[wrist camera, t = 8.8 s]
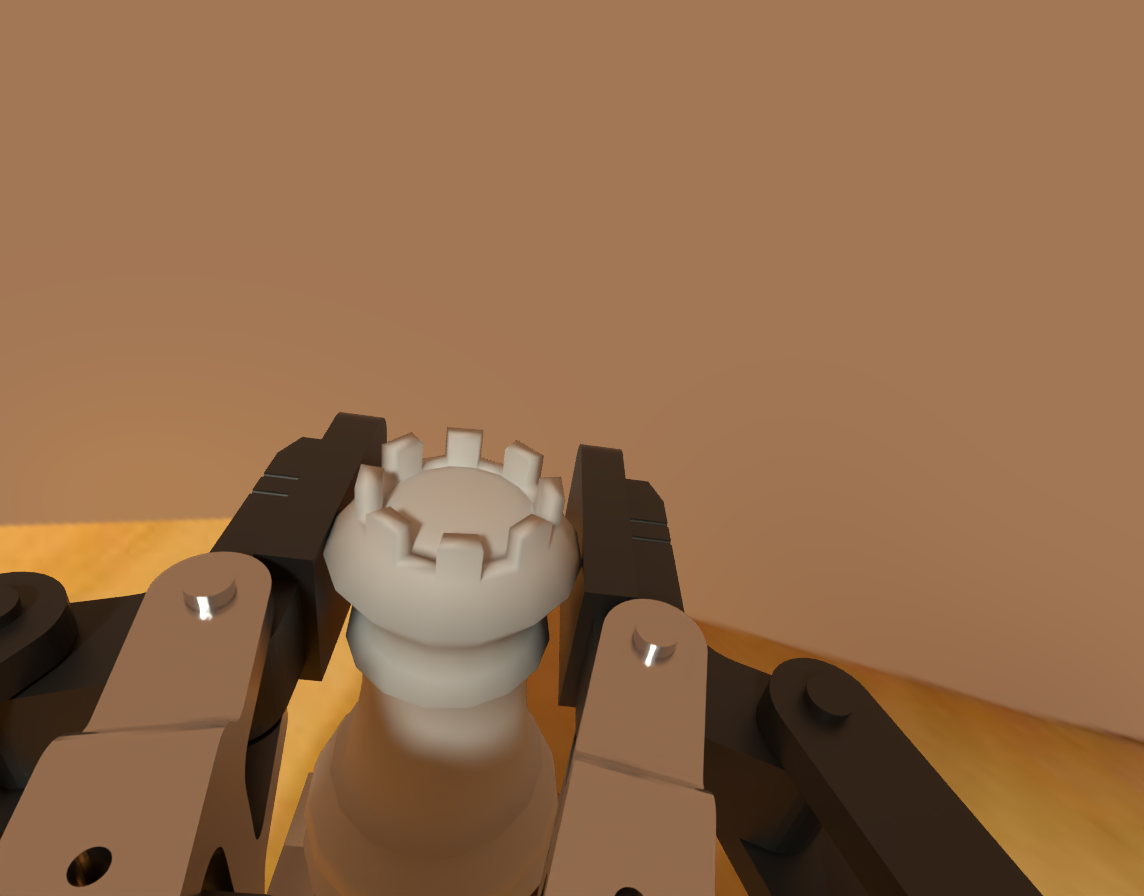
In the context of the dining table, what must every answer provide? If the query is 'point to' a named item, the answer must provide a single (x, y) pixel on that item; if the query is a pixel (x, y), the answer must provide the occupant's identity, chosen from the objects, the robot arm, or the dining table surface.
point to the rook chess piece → (442, 676)
